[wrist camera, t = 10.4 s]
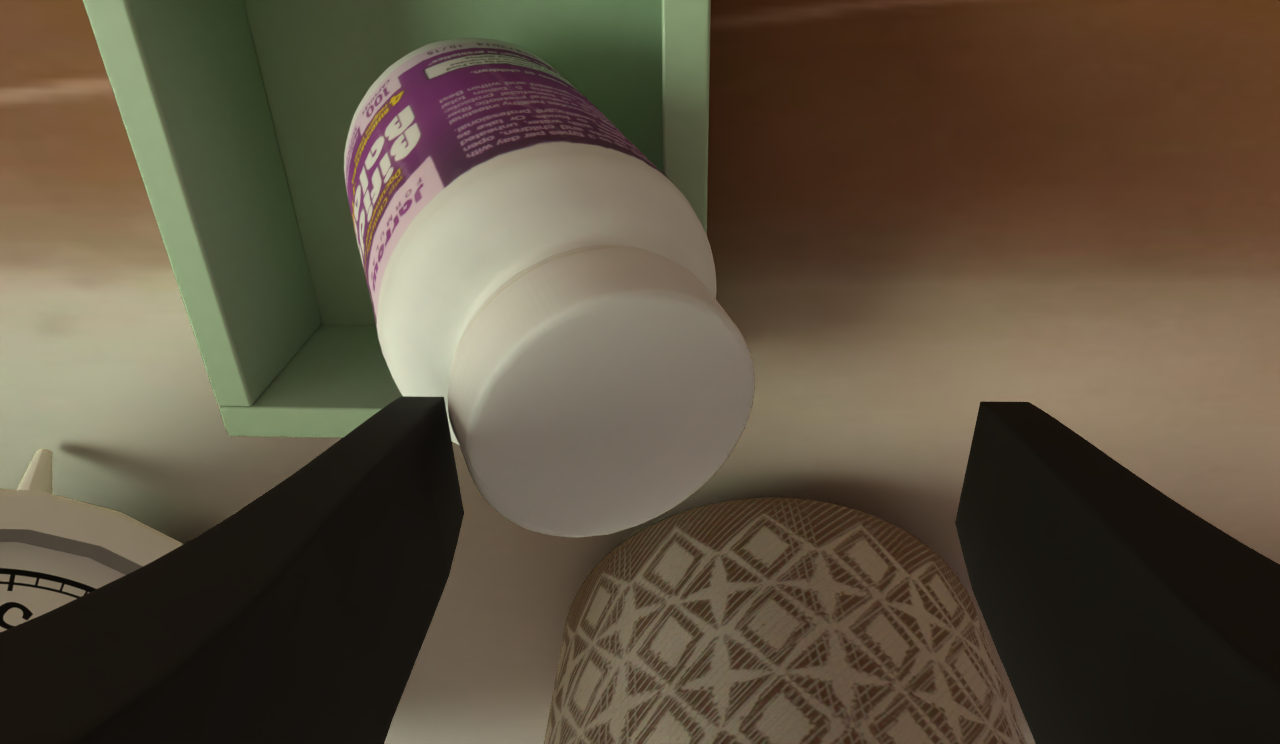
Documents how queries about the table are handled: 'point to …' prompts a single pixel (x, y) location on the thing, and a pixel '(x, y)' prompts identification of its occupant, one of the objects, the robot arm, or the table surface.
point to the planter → (776, 637)
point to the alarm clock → (63, 546)
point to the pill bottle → (542, 290)
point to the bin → (342, 162)
